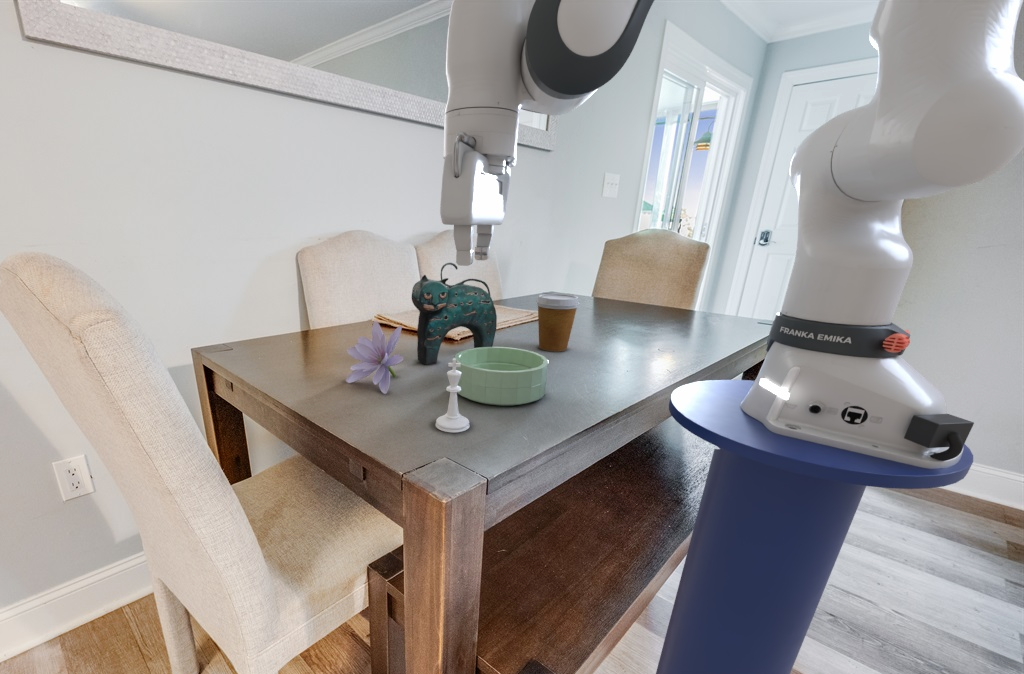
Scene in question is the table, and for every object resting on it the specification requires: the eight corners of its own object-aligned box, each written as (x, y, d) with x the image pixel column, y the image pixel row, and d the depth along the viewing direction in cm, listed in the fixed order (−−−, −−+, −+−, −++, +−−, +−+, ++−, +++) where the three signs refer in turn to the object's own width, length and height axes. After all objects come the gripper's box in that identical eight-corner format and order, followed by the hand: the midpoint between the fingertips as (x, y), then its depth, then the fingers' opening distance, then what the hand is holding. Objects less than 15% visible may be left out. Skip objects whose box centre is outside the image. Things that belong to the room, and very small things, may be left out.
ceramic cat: (420, 367, 93) (421, 265, 86) (406, 359, 98) (405, 262, 91) (499, 355, 102) (505, 261, 95) (481, 348, 107) (486, 259, 100)
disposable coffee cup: (582, 349, 107) (589, 297, 103) (554, 355, 102) (560, 301, 98) (550, 341, 114) (556, 292, 110) (523, 346, 109) (527, 295, 105)
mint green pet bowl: (563, 394, 79) (567, 360, 77) (500, 416, 70) (503, 378, 68) (497, 372, 90) (499, 342, 88) (435, 388, 82) (436, 355, 79)
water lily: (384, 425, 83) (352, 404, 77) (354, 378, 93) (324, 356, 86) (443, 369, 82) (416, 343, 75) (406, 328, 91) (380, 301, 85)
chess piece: (435, 418, 69) (436, 353, 65) (468, 419, 69) (471, 354, 65) (435, 432, 64) (436, 363, 61) (470, 433, 64) (473, 364, 61)
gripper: (487, 126, 46) (479, 270, 51) (518, 154, 64) (510, 258, 69) (427, 129, 48) (425, 267, 53) (474, 155, 66) (469, 256, 71)
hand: (473, 262), depth 61 cm, fingers open, 8 cm apart
